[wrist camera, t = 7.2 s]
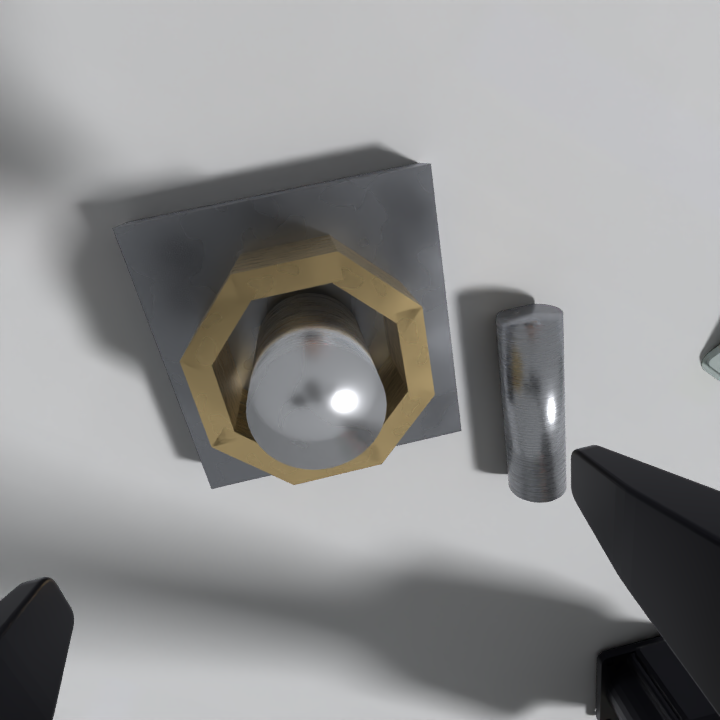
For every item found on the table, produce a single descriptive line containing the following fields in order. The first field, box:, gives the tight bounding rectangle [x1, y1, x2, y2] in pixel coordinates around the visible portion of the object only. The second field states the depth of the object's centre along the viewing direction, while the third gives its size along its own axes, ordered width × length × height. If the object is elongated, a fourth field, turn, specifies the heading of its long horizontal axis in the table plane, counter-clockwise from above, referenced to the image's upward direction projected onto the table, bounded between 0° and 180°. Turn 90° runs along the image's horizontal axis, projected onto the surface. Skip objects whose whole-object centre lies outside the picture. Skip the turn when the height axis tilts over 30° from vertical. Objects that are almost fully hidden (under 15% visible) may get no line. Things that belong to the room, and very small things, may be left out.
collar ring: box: [180, 235, 435, 485], centre depth 16 cm, size 7×7×3 cm
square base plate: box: [113, 163, 461, 489], centre depth 16 cm, size 10×10×6 cm
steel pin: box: [496, 304, 566, 502], centre depth 20 cm, size 8×2×2 cm
